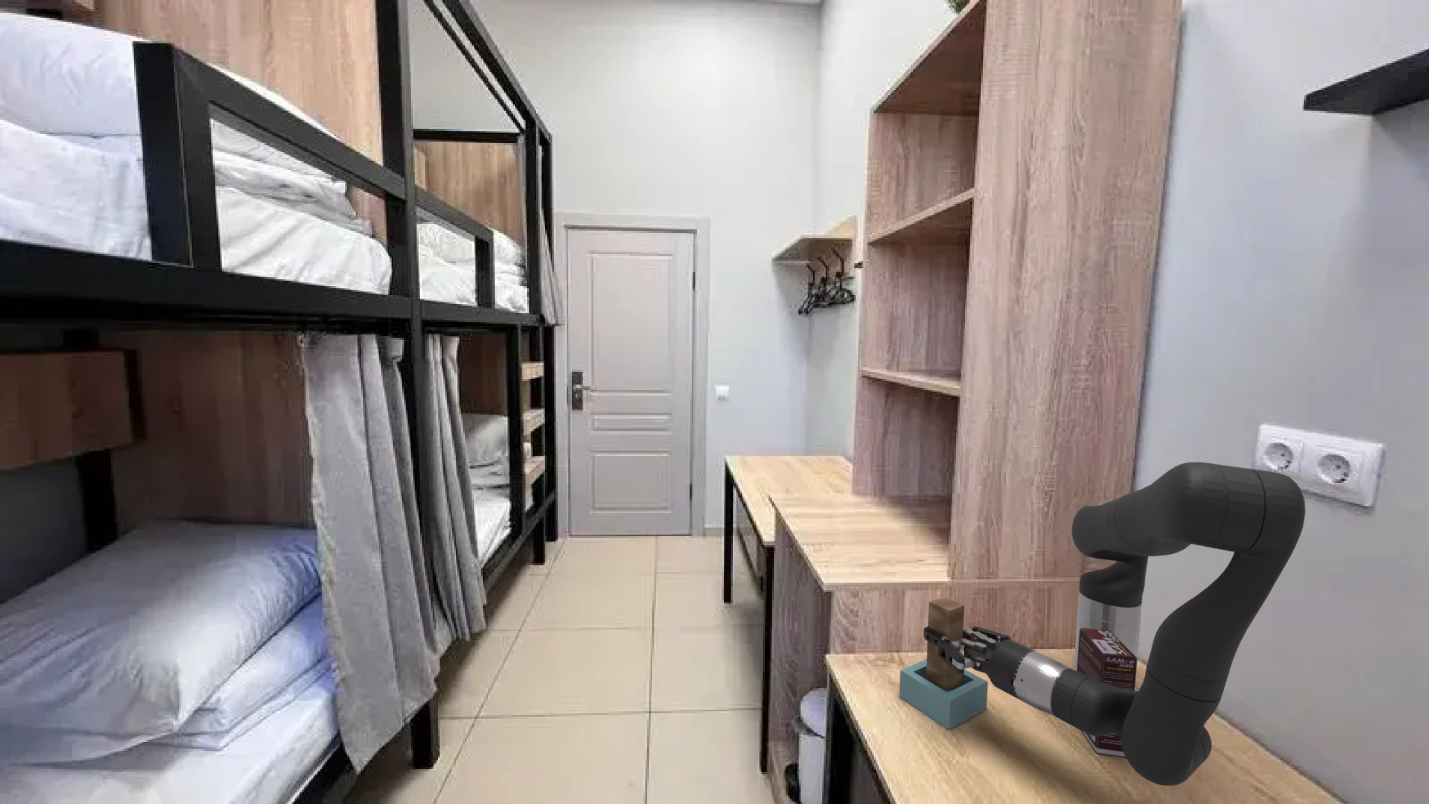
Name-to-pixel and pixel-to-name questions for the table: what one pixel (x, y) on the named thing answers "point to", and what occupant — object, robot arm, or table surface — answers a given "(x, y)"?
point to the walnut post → (949, 622)
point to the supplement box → (1106, 675)
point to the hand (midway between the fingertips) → (933, 629)
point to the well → (943, 696)
